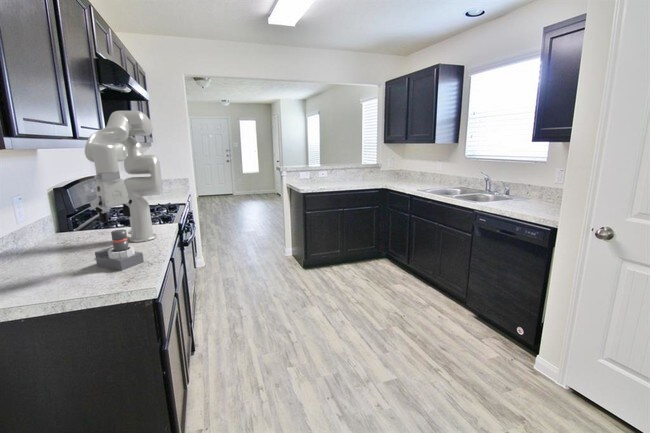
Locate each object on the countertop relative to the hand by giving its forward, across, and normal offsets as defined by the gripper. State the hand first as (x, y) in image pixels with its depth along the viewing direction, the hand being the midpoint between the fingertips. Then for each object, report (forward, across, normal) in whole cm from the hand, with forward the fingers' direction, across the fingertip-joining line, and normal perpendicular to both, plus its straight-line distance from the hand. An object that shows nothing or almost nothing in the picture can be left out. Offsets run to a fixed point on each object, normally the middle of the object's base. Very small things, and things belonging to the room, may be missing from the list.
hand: (116, 219), depth 134 cm
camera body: (+19, -1, +1) cm, 19 cm away
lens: (+15, -1, -1) cm, 15 cm away
